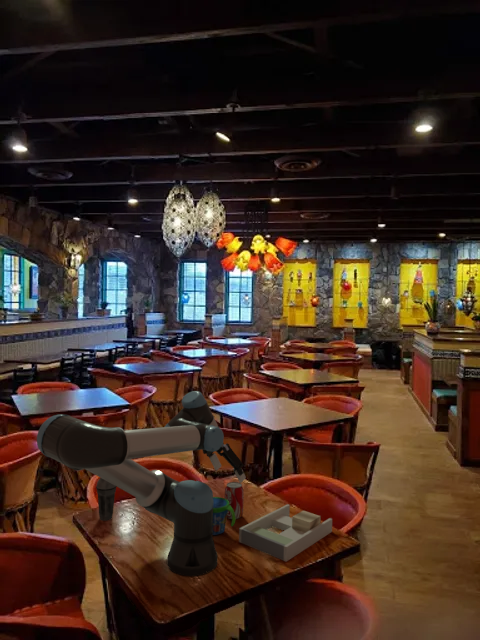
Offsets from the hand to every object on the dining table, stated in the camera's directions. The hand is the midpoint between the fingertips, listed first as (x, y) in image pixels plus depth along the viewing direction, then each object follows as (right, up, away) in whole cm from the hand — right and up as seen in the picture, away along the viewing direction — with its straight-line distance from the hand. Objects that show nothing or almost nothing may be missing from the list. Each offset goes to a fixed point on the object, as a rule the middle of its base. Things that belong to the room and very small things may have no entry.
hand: (230, 473), depth 180 cm
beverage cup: (-45, -16, 0) cm, 48 cm away
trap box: (+19, -18, -12) cm, 29 cm away
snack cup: (-6, -17, -9) cm, 20 cm away
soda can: (+1, -17, +4) cm, 18 cm away
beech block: (+26, -15, -10) cm, 32 cm away
